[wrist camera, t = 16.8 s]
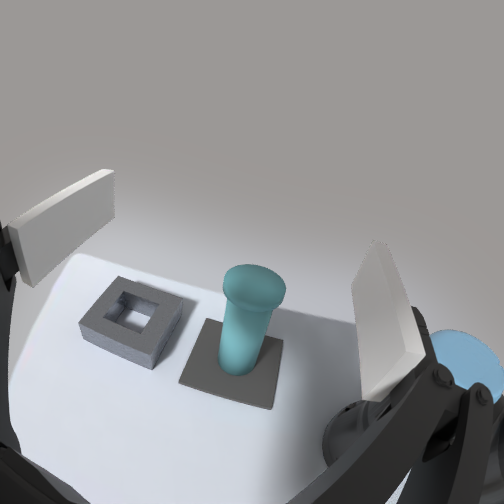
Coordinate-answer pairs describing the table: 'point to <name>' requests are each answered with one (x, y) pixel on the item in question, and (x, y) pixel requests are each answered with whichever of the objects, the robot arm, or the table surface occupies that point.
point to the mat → (226, 385)
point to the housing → (123, 339)
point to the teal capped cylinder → (247, 315)
